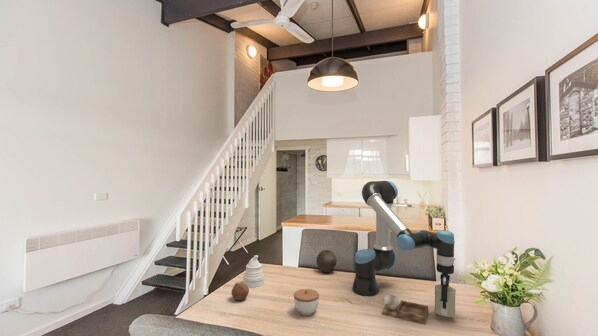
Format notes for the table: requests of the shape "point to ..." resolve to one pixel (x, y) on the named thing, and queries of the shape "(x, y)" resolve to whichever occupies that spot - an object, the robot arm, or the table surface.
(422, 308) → the caddy
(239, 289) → the onion
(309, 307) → the lidded bowl
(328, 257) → the cantaloupe
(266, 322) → the table surface
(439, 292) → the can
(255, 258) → the honey pot
